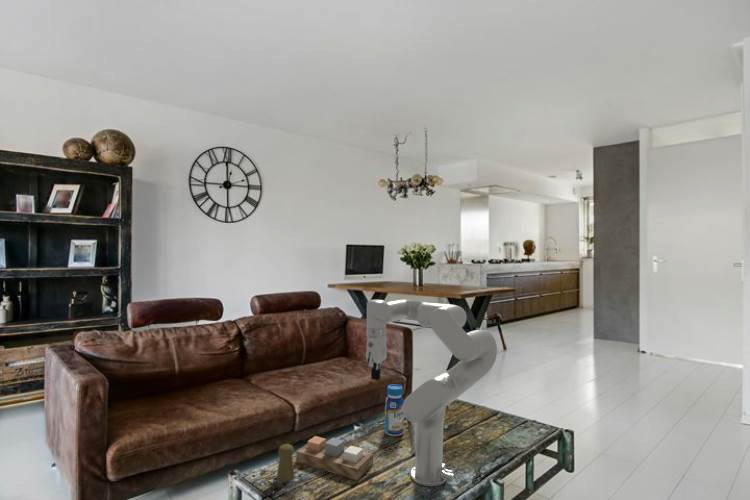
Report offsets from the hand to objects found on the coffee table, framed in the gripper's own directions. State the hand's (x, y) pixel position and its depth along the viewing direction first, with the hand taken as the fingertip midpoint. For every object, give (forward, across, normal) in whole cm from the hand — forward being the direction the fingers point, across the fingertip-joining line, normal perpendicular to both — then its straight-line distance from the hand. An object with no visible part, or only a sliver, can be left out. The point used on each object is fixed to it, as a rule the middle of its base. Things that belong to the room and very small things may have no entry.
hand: (375, 378), depth 166 cm
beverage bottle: (+30, +21, 0) cm, 36 cm away
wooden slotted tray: (+29, -13, +11) cm, 34 cm away
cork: (+29, -28, +22) cm, 46 cm away
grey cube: (+26, -13, +11) cm, 31 cm away
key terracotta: (+27, -12, +19) cm, 35 cm away
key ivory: (+27, -13, +3) cm, 30 cm away
